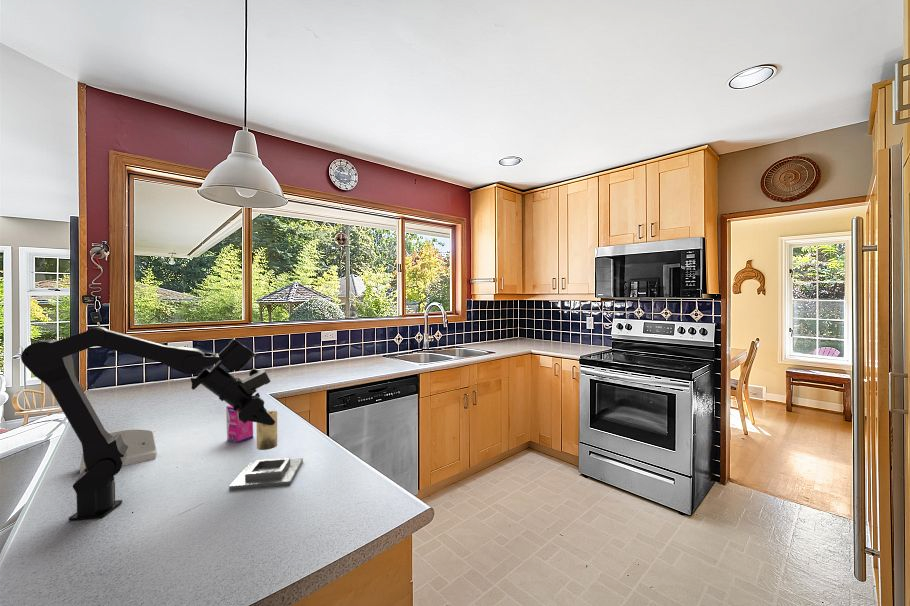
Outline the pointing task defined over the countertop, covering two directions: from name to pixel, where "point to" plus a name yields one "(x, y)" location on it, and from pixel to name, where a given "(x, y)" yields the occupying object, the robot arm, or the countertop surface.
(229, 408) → the supplement box
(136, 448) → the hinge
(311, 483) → the countertop surface
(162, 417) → the countertop surface
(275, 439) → the brass cylinder
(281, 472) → the flange plate
